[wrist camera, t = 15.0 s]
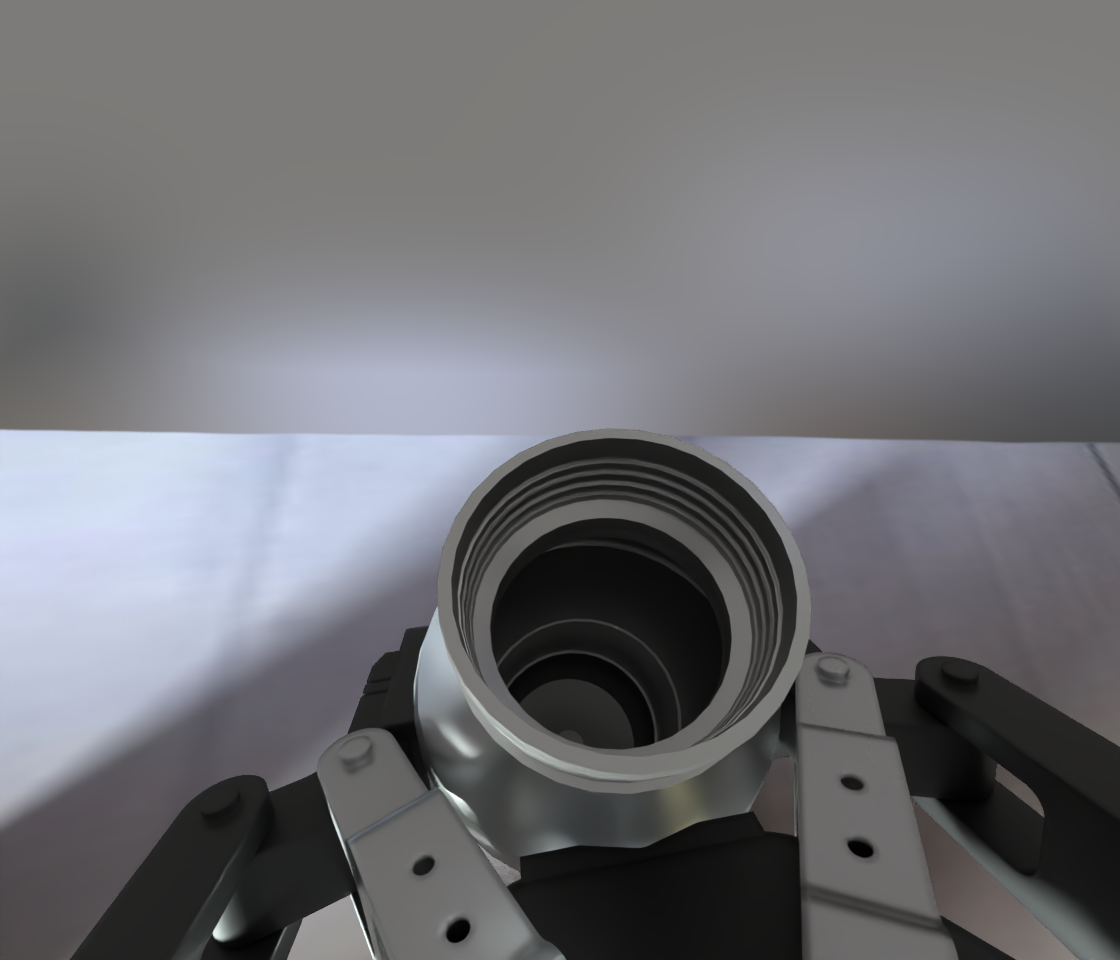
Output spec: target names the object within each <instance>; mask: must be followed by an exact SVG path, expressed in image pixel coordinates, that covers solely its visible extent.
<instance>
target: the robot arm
mask: <svg viewBox="0 0 1120 960" xmlns="http://www.w3.org/2000/svg"><path fill="white" fill-rule="evenodd" d="M429 626H430V625H429ZM429 626H422V627H416V628H409V629H406V631H405V634H404V637H403V641H402V644H401V647H400V651H395V652H388V653H385V654H384V655H383V656H382V657H381V658H380V659H379V660H378V661H377V662H376V663H375V664H374V665H373V666H372V668H371V671H370V674H369V676H368V679H367V684H366V685H365V687H364V690H363V693H362V697H361V698H360V701H359V704H358V707H357V709H356V712H355V715H354V718H353V720H352V723H351V726H350V728H349V731H348V734H347V735H345V736H343V737H342V738H340V739H338V740H337V741H335V742H334V743H333V744H332V745H330V746H329V747H328V748H327V749H326V750H325V751H324V753H323V754H322V755H321V757H320V759H319V761H318V764H317V772H315V773H313V774H311V775H309V776H308V777H305V778H303V779H301V780H298V781H296V782H294V783H291V784H289V785H286V786H284V787H281V788H279V789H276V790H274V791H271V792H269V791H268V787H267V784H266V782H265V781H264V779H262V778H261V777H259V776H256V775H241V776H236V777H232V778H229V779H226V780H224V781H221V782H219V783H217V784H215V785H213V786H211V787H209V788H208V789H206V790H204V791H203V792H202V793H200V794H199V795H197V796H196V797H195V798H194V799H192V800H191V801H190V802H189V803H188V804H187V805H186V806H185V807H184V809H183V810H182V811H181V812H180V813H179V815H178V816H177V817H176V819H175V820H174V821H173V823H172V824H171V825H170V827H169V828H168V829H167V831H166V832H165V833H164V835H163V836H162V837H161V839H160V840H159V841H158V843H157V844H156V845H155V847H154V848H153V849H152V851H151V852H150V853H149V855H148V856H147V857H146V859H145V860H144V861H143V863H142V864H141V865H140V867H139V868H138V869H137V871H136V872H135V873H134V875H133V876H132V877H131V879H130V880H129V881H128V883H127V884H126V885H125V887H124V888H123V889H122V891H121V892H120V893H119V895H118V896H117V897H116V899H115V900H114V901H113V903H112V904H111V905H110V907H109V908H108V909H107V911H106V912H105V913H104V915H103V916H102V917H101V919H100V920H99V921H98V923H97V924H96V925H95V927H94V928H93V929H92V931H91V932H90V933H89V935H88V936H87V937H86V939H85V940H84V941H83V943H82V944H81V945H80V947H79V948H78V949H77V951H76V952H75V953H74V955H73V956H72V957H71V959H70V960H287V957H288V955H289V952H290V950H291V947H292V945H293V943H294V940H295V938H296V935H297V933H298V930H299V928H300V925H301V922H302V919H303V918H304V917H306V916H308V915H310V914H312V913H314V912H316V911H318V910H320V909H322V908H324V907H326V906H328V905H330V904H332V903H334V902H336V901H338V900H340V899H342V898H344V897H346V896H348V895H350V897H351V899H352V902H353V905H354V908H355V910H356V913H357V916H358V919H359V921H360V924H361V927H362V930H363V932H364V935H365V938H366V941H367V944H368V946H369V949H370V952H371V955H372V957H373V960H1015V959H1014V958H1012V957H1010V956H1009V955H1007V954H1005V953H1004V952H1002V951H1000V950H999V949H997V948H995V947H994V946H992V945H990V944H989V943H987V942H985V941H983V940H982V939H980V938H978V937H977V936H975V935H973V934H972V933H970V932H968V931H967V930H965V929H963V928H962V927H960V926H958V925H956V924H955V923H953V922H951V921H950V920H948V919H946V918H945V917H943V916H941V915H940V914H939V910H938V906H937V902H936V898H935V894H934V890H933V886H932V882H931V878H930V874H929V870H928V866H927V862H926V858H925V854H924V850H923V846H922V842H921V838H920V834H919V830H918V826H917V822H916V818H915V814H914V810H913V806H912V802H911V798H910V796H912V798H913V799H914V800H915V801H916V803H917V804H918V805H919V806H920V807H921V808H922V809H924V810H925V811H926V812H927V813H928V814H929V815H930V816H931V817H932V818H933V819H934V820H935V821H936V822H937V823H938V824H939V825H940V826H941V827H942V828H943V829H944V830H945V831H946V832H947V833H948V834H949V835H950V836H951V837H952V838H954V839H955V840H956V841H957V842H958V843H959V844H960V845H961V846H962V847H963V848H964V849H965V850H966V851H967V852H968V853H969V854H970V855H971V856H972V857H973V858H974V859H975V860H976V861H977V862H978V863H979V864H980V865H981V866H982V867H984V868H985V869H986V870H987V871H988V872H989V873H990V874H991V875H992V876H993V877H994V878H995V879H996V880H997V881H998V882H999V883H1000V884H1001V885H1002V886H1003V887H1004V888H1005V889H1006V890H1007V891H1008V892H1009V893H1010V894H1011V895H1012V896H1014V897H1015V898H1016V899H1017V900H1018V901H1019V902H1020V903H1021V904H1022V905H1023V906H1024V907H1025V908H1026V909H1027V910H1028V911H1029V912H1030V913H1031V914H1032V915H1033V916H1034V917H1035V918H1036V919H1037V920H1038V921H1039V922H1040V923H1041V924H1042V925H1044V926H1045V927H1046V928H1047V929H1048V930H1049V931H1050V932H1051V933H1052V934H1053V935H1054V936H1055V937H1056V938H1057V939H1058V940H1059V941H1060V942H1061V943H1062V944H1063V945H1064V946H1065V947H1066V948H1067V949H1068V950H1069V951H1070V952H1071V953H1072V954H1074V955H1075V956H1076V957H1077V958H1078V959H1079V960H1120V747H1119V746H1117V745H1116V744H1114V743H1112V742H1111V741H1109V740H1107V739H1106V738H1104V737H1102V736H1101V735H1099V734H1097V733H1096V732H1094V731H1092V730H1090V729H1089V728H1087V727H1085V726H1084V725H1082V724H1080V723H1079V722H1077V721H1075V720H1074V719H1072V718H1070V717H1069V716H1067V715H1065V714H1064V713H1062V712H1060V711H1058V710H1057V709H1055V708H1053V707H1052V706H1050V705H1048V704H1047V703H1045V702H1043V701H1042V700H1040V699H1038V698H1037V697H1035V696H1033V695H1032V694H1030V693H1028V692H1026V691H1025V690H1023V689H1021V688H1020V687H1018V686H1016V685H1015V684H1013V683H1011V682H1010V681H1008V680H1006V679H1005V678H1003V677H1001V676H1000V675H998V674H996V673H994V672H993V671H991V670H989V669H988V668H986V667H984V666H982V665H979V664H977V663H974V662H971V661H968V660H964V659H960V658H955V657H947V656H936V657H929V658H926V659H923V660H921V661H920V662H919V663H918V664H917V666H916V673H915V680H906V679H884V678H874V677H872V674H871V672H870V671H869V669H868V668H867V667H866V666H864V665H863V664H862V663H860V662H858V661H857V660H855V659H852V658H850V657H847V656H844V655H841V654H836V653H829V652H822V651H821V650H820V649H819V648H818V647H817V646H816V645H815V644H814V643H813V642H812V641H811V640H810V639H809V640H808V644H807V647H806V651H805V655H804V659H803V663H802V666H801V669H800V671H799V673H798V675H797V677H796V679H795V681H794V682H793V684H792V686H791V688H790V690H789V692H788V694H787V695H786V697H785V699H784V701H783V702H782V703H781V717H780V732H779V735H778V739H777V743H776V747H775V750H774V754H773V758H772V760H773V759H778V758H783V757H789V756H790V757H791V758H792V759H793V761H794V806H795V836H792V835H788V834H783V833H776V832H767V831H764V830H763V828H762V826H761V824H760V823H759V821H758V819H757V817H756V815H755V814H754V812H753V811H752V812H747V813H742V814H736V815H731V816H726V817H721V818H716V819H711V820H706V821H701V822H697V823H695V824H693V825H690V826H688V827H686V828H684V829H682V830H680V831H678V832H676V833H674V834H672V835H670V836H668V837H665V838H663V839H661V840H659V841H657V842H655V843H653V844H651V845H649V846H646V847H642V848H628V847H606V846H584V845H578V846H572V847H567V848H562V849H557V850H552V851H547V852H542V853H537V854H531V855H526V856H521V857H520V871H521V879H520V880H518V881H516V882H514V883H512V884H510V885H508V886H507V887H506V885H505V884H504V882H503V881H502V879H501V878H500V876H499V875H498V873H497V872H496V870H495V869H494V867H493V866H492V864H491V863H490V861H489V860H488V858H487V857H486V855H485V854H484V852H483V851H482V850H481V848H480V847H479V845H478V844H477V842H476V841H475V839H474V838H473V836H472V835H471V833H470V832H469V830H468V829H467V827H466V826H465V824H464V823H463V821H462V820H461V818H460V817H459V815H458V814H457V812H456V811H455V809H454V808H453V807H452V805H451V804H450V802H449V801H448V799H447V798H446V796H445V795H444V793H443V792H442V791H441V790H440V789H439V788H438V787H435V788H434V785H433V783H432V781H431V778H430V776H429V774H428V771H427V769H426V767H425V765H424V762H423V760H422V756H421V752H420V747H419V742H418V738H417V733H416V728H415V722H414V680H415V675H416V670H417V664H418V659H419V653H420V649H421V646H422V644H423V641H424V639H425V636H426V634H427V631H428V628H429ZM997 763H998V764H1000V765H1001V766H1002V767H1004V768H1005V769H1006V770H1008V771H1009V772H1010V773H1012V774H1013V775H1014V776H1016V777H1017V778H1018V779H1020V780H1021V781H1022V782H1024V783H1025V784H1026V785H1027V786H1028V787H1029V788H1030V789H1031V790H1032V791H1033V792H1034V793H1035V795H1036V796H1037V798H1038V799H1039V801H1040V803H1041V805H1042V807H1043V810H1044V815H1045V818H1044V817H1042V816H1041V815H1040V814H1039V813H1037V812H1036V811H1035V810H1034V809H1032V808H1031V807H1030V806H1028V805H1027V804H1026V803H1025V802H1023V801H1022V800H1021V799H1020V798H1018V797H1017V796H1016V795H1015V794H1013V793H1012V792H1011V791H1009V790H1008V789H1007V788H1006V787H1004V786H1003V785H1002V784H1001V783H999V782H998V781H997V780H995V776H996V768H997Z"/></svg>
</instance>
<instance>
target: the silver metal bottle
mask: <svg viewBox="0 0 1120 960" xmlns="http://www.w3.org/2000/svg"><path fill="white" fill-rule="evenodd" d="M437 593H438V607H437V608H436V611H435V613H434V616H433V618H432V621H431V623H430V626H429V628H428V631H427V634H426V636H425V639H424V641H423V644H422V646H421V649H420V653H419V659H418V664H417V670H416V675H415V680H414V722H415V728H416V733H417V738H418V742H419V747H420V752H421V756H422V760H423V762H424V765H425V767H426V769H427V771H428V774H429V776H430V778H431V781H432V783H433V785H434V788H435V787H438V788H439V789H440V790H441V791H442V792H443V793H444V795H445V796H446V798H447V799H448V801H449V802H450V804H451V805H452V807H453V808H454V809H455V811H456V812H457V814H458V815H459V817H460V818H461V820H462V821H463V823H464V824H465V826H466V827H467V829H468V830H469V832H470V833H471V835H472V836H473V838H474V839H475V841H476V842H477V843H478V844H479V845H480V846H481V847H483V848H484V849H485V850H486V851H487V852H488V853H489V854H490V855H491V856H493V857H494V858H496V859H498V860H500V861H501V862H503V863H505V864H507V865H508V866H510V867H512V868H514V869H515V870H517V871H519V872H521V871H520V857H521V856H526V855H531V854H537V853H542V852H547V851H552V850H557V849H562V848H567V847H572V846H578V845H584V846H606V847H628V848H642V847H646V846H649V845H651V844H653V843H655V842H657V841H659V840H661V839H663V838H665V837H668V836H670V835H672V834H674V833H676V832H678V831H680V830H682V829H684V828H686V827H688V826H690V825H693V824H695V823H697V822H701V821H706V820H711V819H716V818H721V817H726V816H731V815H736V814H742V813H747V812H749V810H750V808H751V806H752V804H753V802H754V800H755V798H756V797H757V795H758V793H759V791H760V789H761V787H762V785H763V783H764V781H765V779H766V777H767V774H768V771H769V768H770V765H771V761H772V758H773V754H774V750H775V747H776V743H777V739H778V735H779V732H780V717H781V703H782V702H783V701H784V699H785V697H786V695H787V694H788V692H789V690H790V688H791V686H792V684H793V682H794V681H795V679H796V677H797V675H798V673H799V671H800V669H801V666H802V663H803V659H804V655H805V651H806V647H807V644H808V640H809V636H810V620H811V596H810V590H809V584H808V579H807V573H806V568H805V564H804V562H803V559H802V557H801V554H800V552H799V549H798V547H797V544H796V542H795V539H794V537H793V534H792V533H791V531H790V530H789V528H788V527H787V525H786V523H785V522H784V520H783V519H782V517H781V515H780V514H779V512H778V511H777V509H776V508H775V506H774V505H773V504H772V503H771V502H770V501H769V500H768V499H767V498H766V496H765V495H764V494H763V493H762V492H761V491H760V490H759V489H758V488H757V487H756V486H755V484H754V483H753V482H751V481H750V480H749V479H748V478H746V477H745V476H744V475H742V474H741V473H740V472H739V471H737V470H736V469H735V468H733V467H732V466H731V465H730V464H728V463H727V462H725V461H723V460H722V459H720V458H718V457H716V456H714V455H712V454H711V453H709V452H707V451H705V450H703V449H702V448H700V447H697V446H695V445H692V444H689V443H686V442H684V441H681V440H678V439H675V438H673V437H670V436H665V435H660V434H655V433H650V432H646V431H640V430H625V429H600V430H591V431H581V432H575V433H571V434H568V435H564V436H560V437H557V438H553V439H549V440H546V441H544V442H542V443H540V444H538V445H535V446H533V447H531V448H529V449H527V450H525V451H522V452H520V453H519V454H517V455H516V456H514V457H513V458H511V459H510V460H508V461H507V462H506V463H504V464H503V465H501V466H500V467H498V468H497V469H495V470H494V471H493V472H492V473H491V474H490V475H489V476H488V477H487V478H486V479H485V480H484V481H483V482H482V483H481V484H480V485H479V486H478V487H477V488H476V489H475V490H474V491H473V492H472V494H471V495H470V497H469V498H468V500H467V501H466V503H465V504H464V506H463V507H462V509H461V510H460V512H459V513H458V515H457V516H456V518H455V520H454V522H453V524H452V527H451V529H450V532H449V534H448V537H447V539H446V542H445V544H444V546H443V550H442V556H441V561H440V567H439V572H438V578H437Z"/></svg>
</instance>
